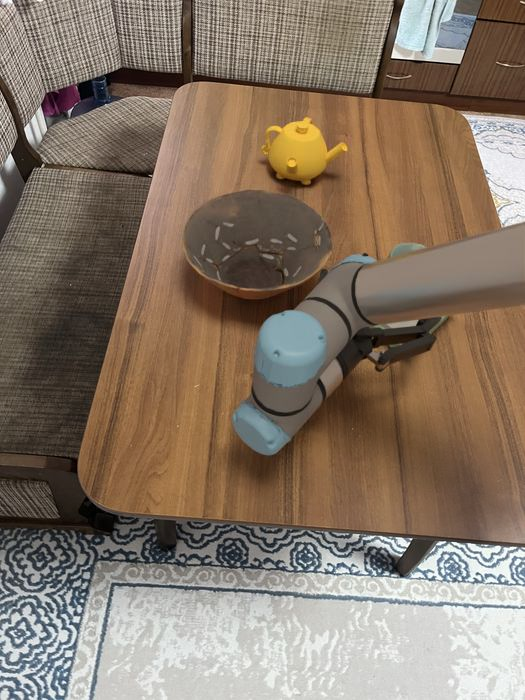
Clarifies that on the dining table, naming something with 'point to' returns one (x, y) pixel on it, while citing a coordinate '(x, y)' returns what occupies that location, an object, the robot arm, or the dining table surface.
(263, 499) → the dining table surface
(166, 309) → the dining table surface
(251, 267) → the bowl
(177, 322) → the dining table surface
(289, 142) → the teapot
